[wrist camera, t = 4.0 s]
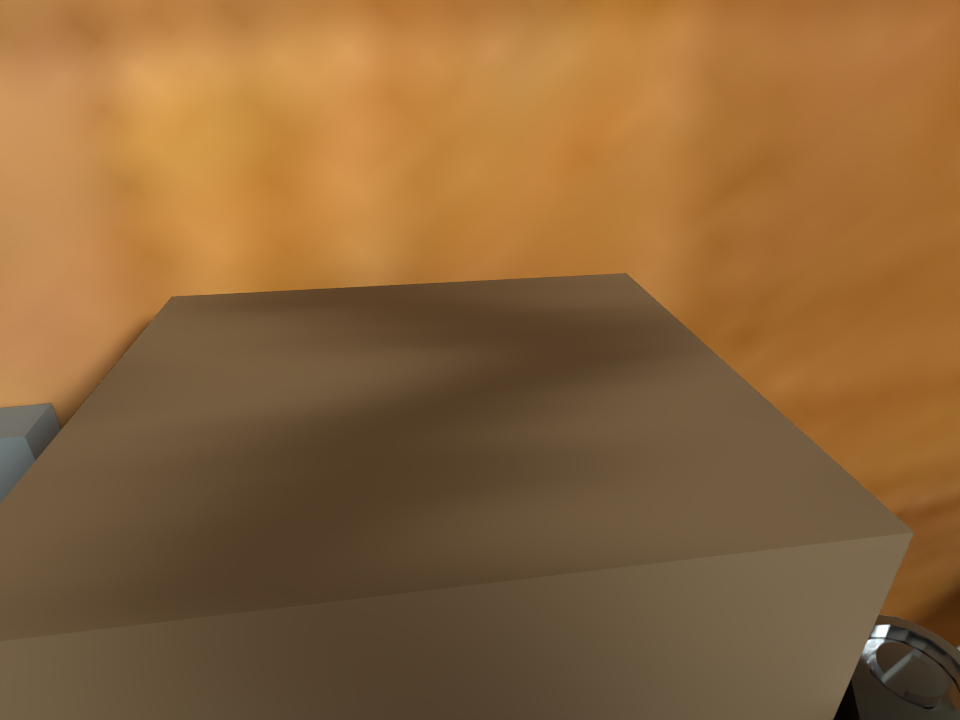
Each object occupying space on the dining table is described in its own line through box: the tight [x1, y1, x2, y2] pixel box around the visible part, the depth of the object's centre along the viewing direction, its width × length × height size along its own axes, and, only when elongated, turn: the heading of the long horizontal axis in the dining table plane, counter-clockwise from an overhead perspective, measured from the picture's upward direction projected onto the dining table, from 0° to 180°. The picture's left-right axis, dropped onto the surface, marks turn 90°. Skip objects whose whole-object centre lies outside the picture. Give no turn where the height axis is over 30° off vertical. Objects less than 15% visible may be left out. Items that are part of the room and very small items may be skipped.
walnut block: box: [0, 273, 914, 720], centre depth 8 cm, size 7×7×6 cm
